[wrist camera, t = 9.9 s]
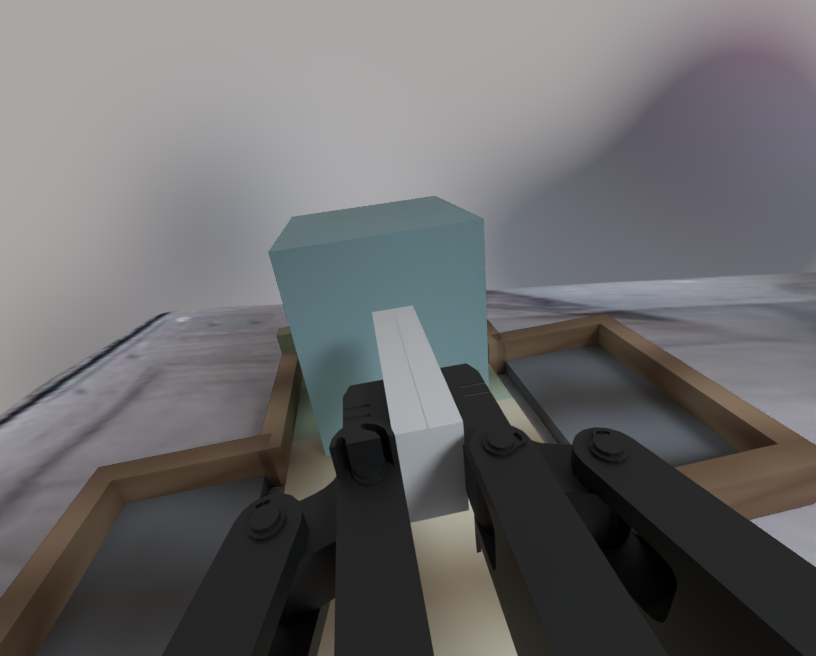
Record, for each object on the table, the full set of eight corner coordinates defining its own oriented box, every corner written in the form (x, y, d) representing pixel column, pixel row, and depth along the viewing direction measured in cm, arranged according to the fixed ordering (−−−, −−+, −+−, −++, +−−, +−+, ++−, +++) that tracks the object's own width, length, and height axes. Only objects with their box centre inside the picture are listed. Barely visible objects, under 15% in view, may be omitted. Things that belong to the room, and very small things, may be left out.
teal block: (489, 422, 21) (483, 218, 16) (326, 456, 20) (268, 252, 15) (447, 346, 29) (435, 195, 24) (329, 369, 28) (292, 216, 23)
